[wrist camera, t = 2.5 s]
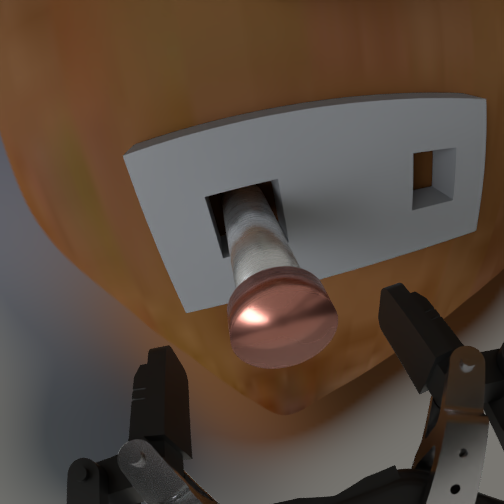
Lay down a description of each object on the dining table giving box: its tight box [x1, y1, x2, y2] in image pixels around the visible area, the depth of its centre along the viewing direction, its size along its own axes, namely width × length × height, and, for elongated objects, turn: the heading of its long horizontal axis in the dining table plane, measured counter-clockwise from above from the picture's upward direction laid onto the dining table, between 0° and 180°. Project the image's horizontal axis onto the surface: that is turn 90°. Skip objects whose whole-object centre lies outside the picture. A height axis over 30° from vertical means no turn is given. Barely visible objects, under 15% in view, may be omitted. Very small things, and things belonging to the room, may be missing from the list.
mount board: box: [123, 93, 486, 313], centre depth 20 cm, size 26×12×3 cm, turn 102°
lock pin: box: [222, 184, 338, 368], centre depth 16 cm, size 4×4×12 cm
